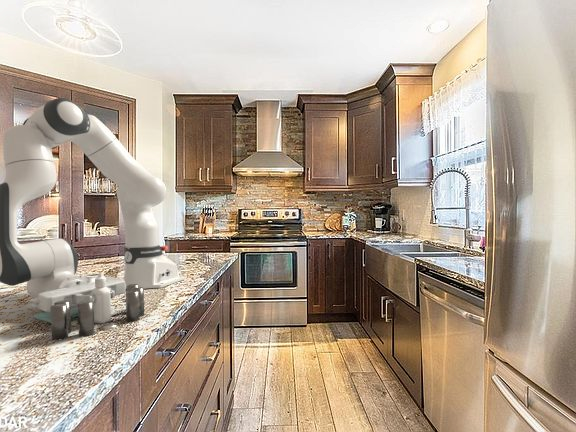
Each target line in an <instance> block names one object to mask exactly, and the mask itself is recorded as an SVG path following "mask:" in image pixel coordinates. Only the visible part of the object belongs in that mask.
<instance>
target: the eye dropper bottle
mask: <svg viewBox="0 0 576 432" xmlns="http://www.w3.org/2000/svg"><path fill="white" fill-rule="evenodd" d="M97 274H98V277H97V278H96V279H95V287H96V288H94V289H93V290H92V293H91V294H92V295H96V302H95V303H93V304H94V324H95V323H96V324H101V325H103V324H107V323H111V321H112V300H111V299H112V298H111V295H110V290H109V289H108V288H107V287H106V278H105V277H106V276H105V277H103V275H102V274H103V273H102V272H98V273H97Z"/></svg>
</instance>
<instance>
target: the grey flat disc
mask: <svg viewBox="0 0 576 432" xmlns="http://www.w3.org/2000/svg"><path fill="white" fill-rule="evenodd" d="M118 327H119V325H118V323H117V322H107V323H103V324H101V326H100V330H101V331H110V329H111V330H113V329H117V328H118Z"/></svg>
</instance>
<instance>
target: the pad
mask: <svg viewBox="0 0 576 432" xmlns="http://www.w3.org/2000/svg"><path fill="white" fill-rule="evenodd" d="M76 317H78V308H75V309H71V319H72V318H76ZM33 319H36V320H40V321H43V322H47V323H50V324H51V312H45V311H43V312H40V313H35V314H33Z"/></svg>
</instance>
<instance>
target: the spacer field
mask: <svg viewBox="0 0 576 432" xmlns="http://www.w3.org/2000/svg"><path fill="white" fill-rule="evenodd" d="M50 308H51V323H50V329H51V332H50V333H51V341H54V340H57V341H60V340H59V339H62V340H65V339H68V337H69V334H71V333H72V318H71V309H70V300H63V301H58V302H55V303H54V305H53V306H51V307H50ZM125 313H126V315H125V316H126V322H128V323H133V322H137V321H139V320H141V319H140V318H141V317H143V316H145V289H144V288H143V287H139V284H130V285H127V289H126V291H125ZM77 318H78V321H77V322H78V326H77V327H78V336H79V337H82V336H83V337H89V336H92V335H94V334H95V322H94V304H93V301H84V302H80V303H78V316H77ZM88 335H89V336H88ZM64 338H65V339H64Z"/></svg>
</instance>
